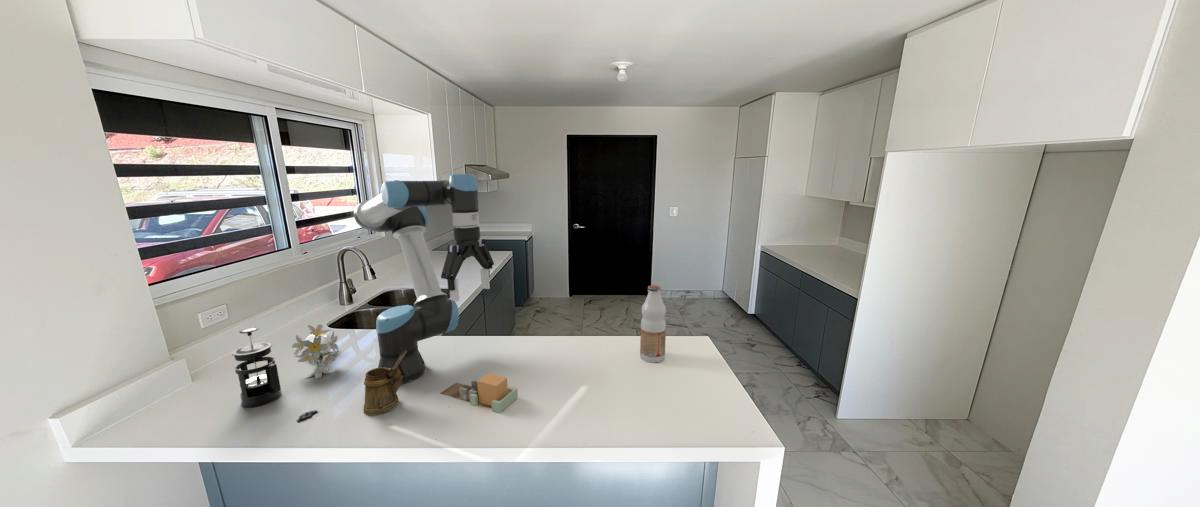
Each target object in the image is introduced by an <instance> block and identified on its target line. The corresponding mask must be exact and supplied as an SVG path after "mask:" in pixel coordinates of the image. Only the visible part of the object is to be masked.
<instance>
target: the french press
mask: <svg viewBox="0 0 1200 507" xmlns="http://www.w3.org/2000/svg"><path fill="white" fill-rule="evenodd" d="M258 330H259V327H248V328H244V329H241V330H239V333H240V334H246V335H247V336H248V338H249V342H250V344H246V345H243V346H240V347H237V348H236V349H234V350H233V351H232V352H231V355H232V356H233V357H234V359H235V361H237V362H241V363H239V364H237V365H235V367H234V370H235V374H236V375H238V380H239V387H240V390H241V392H240V394H239V395H240V400H241V402H240V406H241V407H242V408H244V409H245V408H246V409H250V408H251V409H252V408H257V407H261V406H264V405H265V406H266V405H268V404H270V403H272V402H274V401H276V400H278V399H279V398H280V397H281V396H282V394H283V393H282V389H281V382H280V377H279V376H280V375H279V372H278V366H277V364H276V361H275V357H273V356H268V355H269V354H270V353H271V352H272V348H271V347H272V346H273V344H272V342H267V341H263V342H261V341H260V342H254V343H253V339H252V336H253V334H252V332H256V331H258ZM258 362H259V363H261V362H267V364H265V365H263V366H260V367H258V366H257V363H258ZM251 364H254V368H251V369H248V365H251ZM263 371H265V373H262V374H259V373H260V372H263ZM251 374H256V375H254V376H251V377H250V375H251Z"/></svg>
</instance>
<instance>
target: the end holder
mask: <svg viewBox="0 0 1200 507" xmlns="http://www.w3.org/2000/svg"><path fill="white" fill-rule="evenodd" d="M518 395H519V394H518V388H516V387H512V386H508V394H507V395H506V396H505V397H504V398H503V399H501V400H500V401H497V400H493V401H491V402H492V409H491V411H492V412H495V413H498V414H501V413H503V412H504V411H505V410H506V409H507V408H508V407H510V406H511V405H512V404H513V403H514V402H515V401H517V399H518V398H519V396H518ZM514 400H515V401H514ZM513 401H514V402H513ZM512 402H513V403H512ZM469 403H470V405H472V406H475V407H476V406H479V405H478V396H477V395H476V394H471V395H470V402H469ZM511 403H512V404H511ZM510 404H511V405H510ZM509 405H510V406H509ZM506 407H507V408H506ZM505 408H506V409H505ZM504 409H505V410H504ZM503 410H504V411H503ZM502 411H503V412H502Z"/></svg>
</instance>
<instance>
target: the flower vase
mask: <svg viewBox="0 0 1200 507" xmlns="http://www.w3.org/2000/svg"><path fill="white" fill-rule="evenodd" d="M307 328H308V330H309V335H308V336H306V338H305V339H304V340H303V338H302V337H300V336H299V334H296V335H295V340H296V342H295V343H293V344H292V346H291V348H292V349H293V350H295V351H294V353H293V358H298V360H297V362H298V363H304V362H307V361H308V363H309V364H310V365H312V366H316V368H314V370H312V371H311V372H310V373H309V374H307V375H306V376H305V379H308V378H310V377H311V378H312V377H313V376H314V378H315V379H321V377H322V376H323V374H332V373H333V371H332V370H330V367H327V366H328V362H329V363H333V362H336V360H337V358H336V355H337V354H338V353H339V352H340V349H339V346H338V344H337V343H336V342H337V341H338V335H335V331H334V330H333V331H332V330H329V329H324V325H323V324H318V325H316V327H314V326H313V325H311V324H310V325H307ZM303 349H304V350H303ZM302 350H303V351H302ZM331 350H332V351H333V352H330V351H331ZM301 351H302V352H301ZM300 352H301V354H300ZM299 354H300V355H299ZM321 356H322V357H323V358H322V360H320V359H319V358H320V357H321ZM319 363H320V364H319ZM321 366H322V367H321Z"/></svg>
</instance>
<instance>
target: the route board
mask: <svg viewBox="0 0 1200 507" xmlns="http://www.w3.org/2000/svg"><path fill="white" fill-rule="evenodd" d="M478 380H479V379H474V378H473V379H471V380H470V383H471V384H470V386H472V387H475V388H478V383H477V381H478ZM467 385H468V384H463V383H461V382H455V383H453V384H452V385H450V386H449V387H447V388H446V389H444V390H443V391H441V392H440V393H439V394H441V395H444V396H447V397H451V398H455V399H457V400H461V401H464V402H468V403H470V395H471V394H476V395H477V391H474V390H469V391H468V389H467V388H465V386H467ZM515 401H516V400H514V401H513V402H512V403H511V404H510V405H509V406H508V407H510V406H511V405H512V404H513V403H514V402H515ZM477 406H481V407H483V408H488V409H491V410H492V406H490V405H486V404H483V403H480V402H479V398H478V405H477ZM508 407H506V408H505V409H504V410H503V411H502V412H501V413H503V412H504V411H505V410H506V409H507V408H508Z"/></svg>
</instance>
